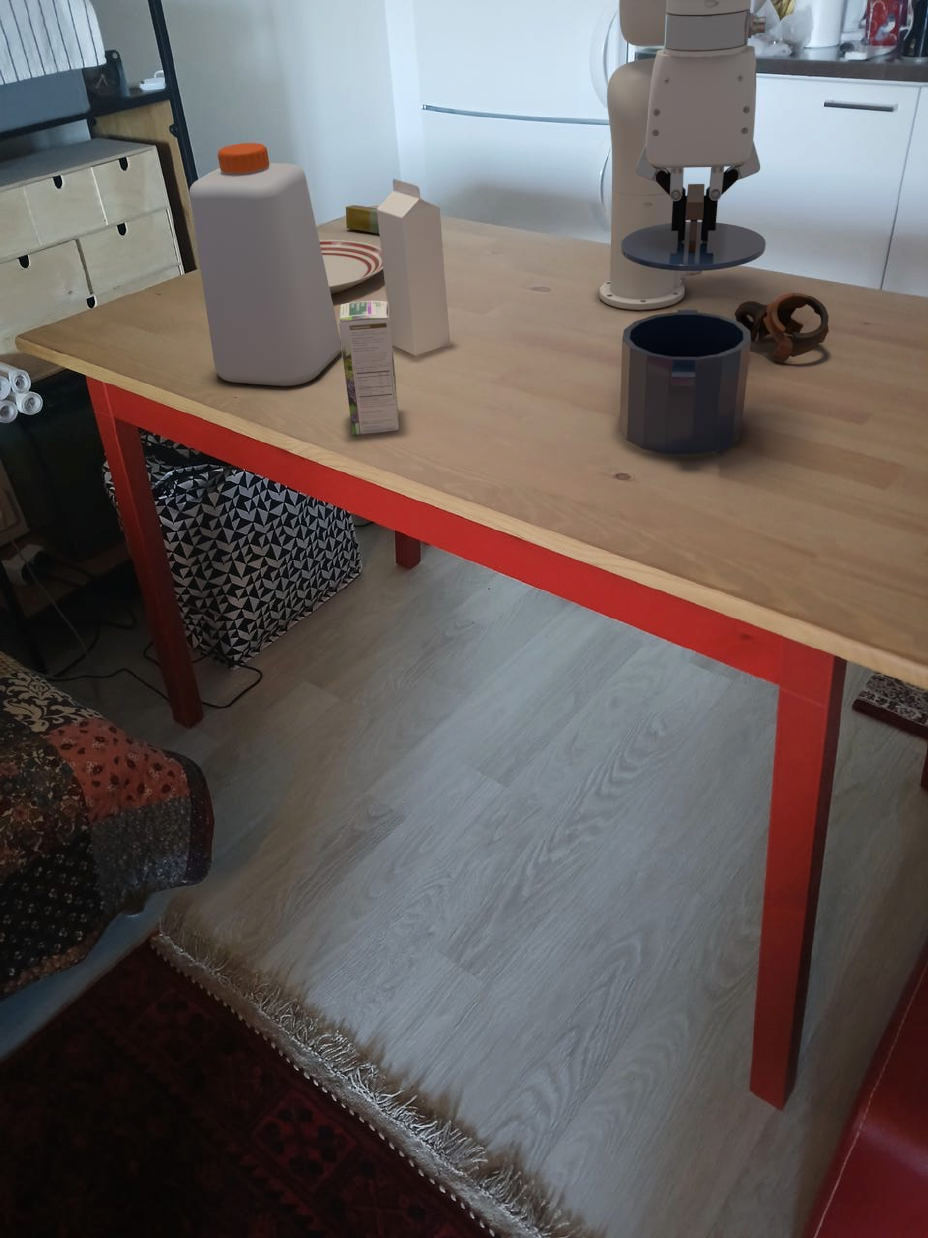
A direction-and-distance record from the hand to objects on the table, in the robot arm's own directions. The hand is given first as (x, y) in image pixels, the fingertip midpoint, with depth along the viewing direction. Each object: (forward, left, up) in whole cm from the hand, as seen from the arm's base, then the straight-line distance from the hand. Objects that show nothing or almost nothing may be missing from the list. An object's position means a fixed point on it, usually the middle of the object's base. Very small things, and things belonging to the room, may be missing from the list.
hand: (692, 236), depth 105 cm
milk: (+16, -40, -22) cm, 49 cm away
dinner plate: (+21, -77, -22) cm, 83 cm away
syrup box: (+30, -20, -22) cm, 42 cm away
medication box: (+2, -96, -22) cm, 99 cm away
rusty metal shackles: (-24, -13, -22) cm, 35 cm away
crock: (0, 0, -22) cm, 22 cm away
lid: (0, 0, -1) cm, 1 cm away
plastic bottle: (+35, -45, -22) cm, 61 cm away
